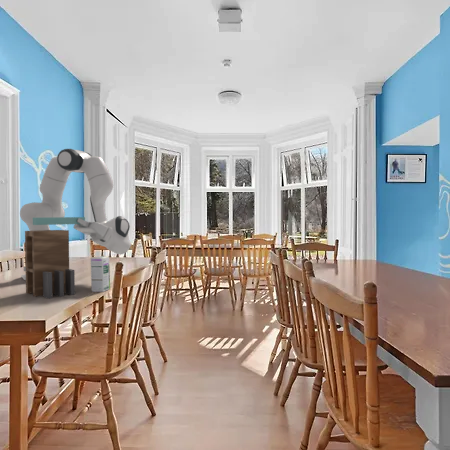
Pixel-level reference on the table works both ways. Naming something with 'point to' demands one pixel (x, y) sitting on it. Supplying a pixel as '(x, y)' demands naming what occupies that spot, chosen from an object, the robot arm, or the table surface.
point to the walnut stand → (45, 257)
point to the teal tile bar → (56, 220)
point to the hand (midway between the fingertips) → (75, 219)
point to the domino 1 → (47, 284)
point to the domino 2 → (59, 282)
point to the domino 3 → (70, 281)
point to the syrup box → (100, 274)
